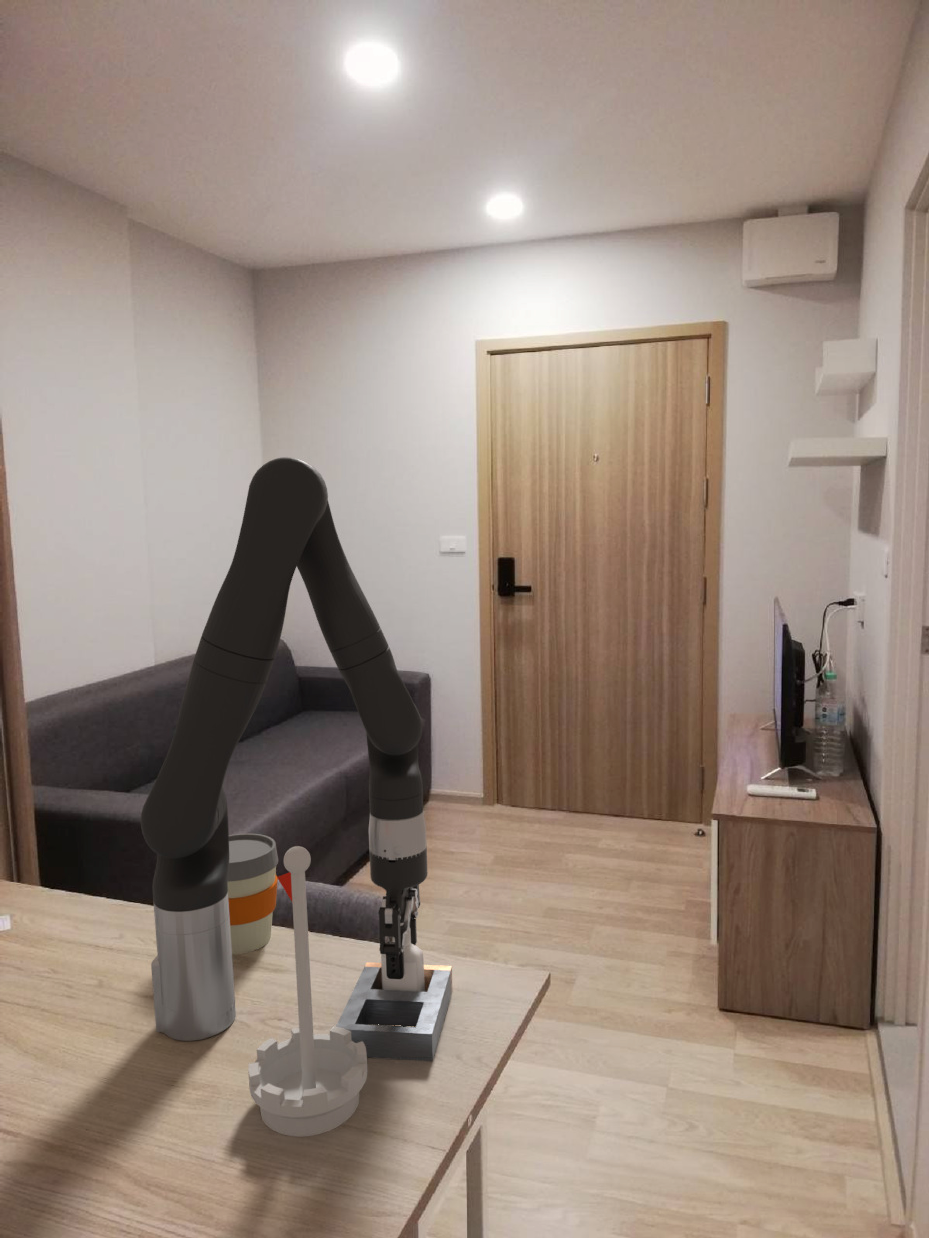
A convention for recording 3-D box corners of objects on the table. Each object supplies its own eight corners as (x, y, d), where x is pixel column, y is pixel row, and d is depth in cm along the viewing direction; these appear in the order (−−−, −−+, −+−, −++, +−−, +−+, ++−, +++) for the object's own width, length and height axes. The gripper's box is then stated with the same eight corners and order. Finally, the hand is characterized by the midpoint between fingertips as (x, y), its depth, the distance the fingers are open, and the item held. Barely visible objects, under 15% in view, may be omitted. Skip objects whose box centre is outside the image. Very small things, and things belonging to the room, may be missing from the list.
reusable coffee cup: (185, 940, 139) (179, 848, 137) (256, 913, 148) (251, 826, 146) (224, 969, 130) (217, 871, 128) (297, 939, 139) (293, 846, 137)
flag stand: (391, 1106, 99) (380, 848, 96) (285, 1161, 91) (269, 882, 88) (331, 1052, 110) (319, 817, 106) (231, 1098, 101) (215, 845, 98)
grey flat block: (336, 1055, 109) (334, 1028, 108) (367, 985, 125) (366, 962, 124) (432, 1061, 107) (431, 1033, 107) (452, 989, 123) (451, 965, 122)
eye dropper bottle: (403, 1019, 116) (400, 931, 115) (378, 1001, 120) (375, 917, 119) (429, 1006, 119) (426, 921, 118) (404, 989, 123) (401, 907, 122)
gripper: (382, 824, 125) (386, 934, 127) (356, 865, 111) (361, 988, 113) (435, 825, 123) (438, 936, 126) (415, 866, 109) (420, 990, 112)
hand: (402, 960), depth 119 cm, fingers open, 8 cm apart
